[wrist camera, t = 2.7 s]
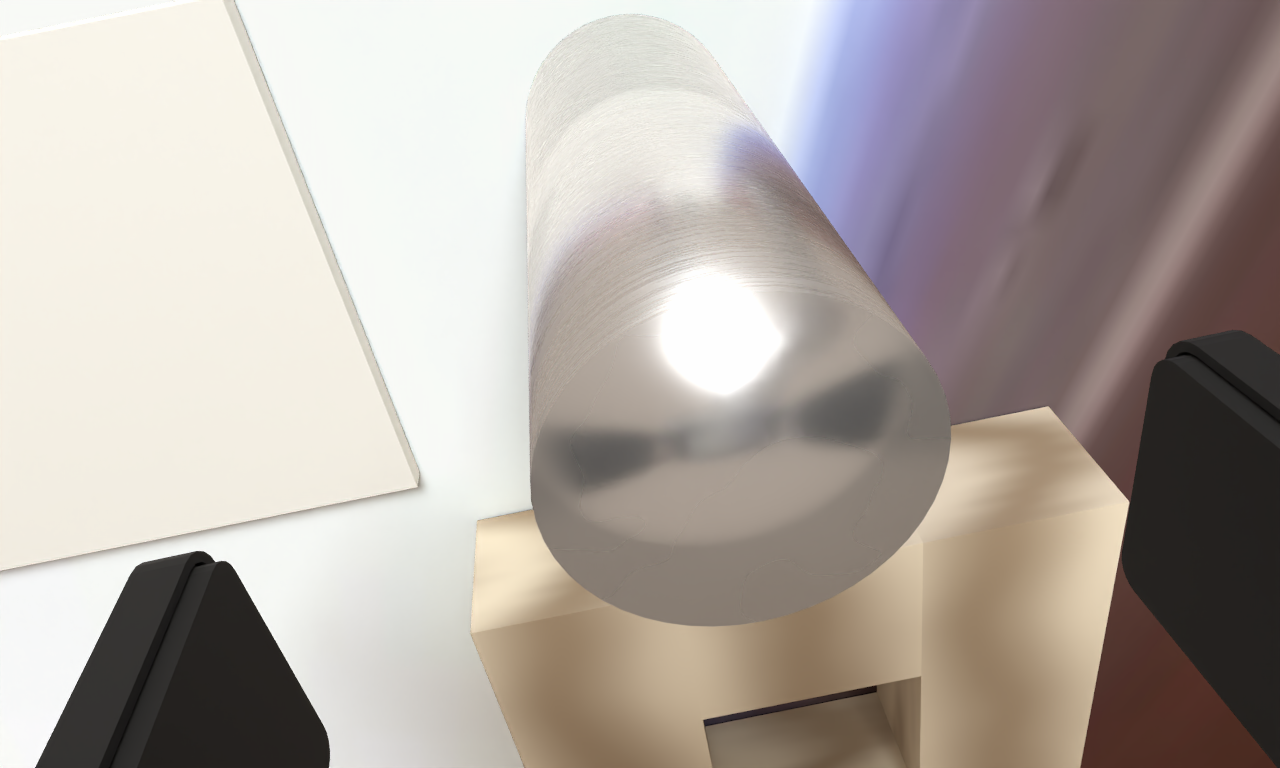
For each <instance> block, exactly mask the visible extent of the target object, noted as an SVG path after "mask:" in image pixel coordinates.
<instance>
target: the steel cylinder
mask: <svg viewBox="0 0 1280 768" xmlns="http://www.w3.org/2000/svg"><path fill="white" fill-rule="evenodd" d="M525 122H526V197H527V271H528V345H529V419H530V483H531V502H532V506H533V511H534V515H535V520H536V523H537V525H538V528H539V530H540V533H541V535H542V538H543V540H544V542H545V544H546V545H547V547H548V549H549V550H550V552H551V553H552V555H553V557H554V558H555V560H556V561H557V562H558V563H559V564H560V565H561V567H562V568H563V569H564V570H565V571H566V572H567V574H568V575H569V576H570V577H572V578H573V579H574V580H575V581H576V582H577V583H579V584H580V585H581V586H582V587H583V588H584V589H586V590H587V591H589V592H590V593H592V594H593V595H595V596H596V597H598V598H600V599H601V600H603V601H605V602H607V603H609V604H611V605H613V606H615V607H617V608H619V609H621V610H623V611H626V612H629V613H632V614H635V615H638V616H640V617H643V618H647V619H651V620H656V621H660V622H664V623H671V624H678V625H686V626H709V627H716V626H732V625H742V624H749V623H755V622H762V621H766V620H770V619H774V618H778V617H782V616H786V615H789V614H792V613H795V612H798V611H801V610H804V609H807V608H810V607H812V606H814V605H816V604H819V603H821V602H823V601H825V600H828V599H830V598H832V597H834V596H836V595H837V594H839V593H841V592H843V591H845V590H846V589H848V588H850V587H852V586H854V585H855V584H857V583H858V582H859V581H861V580H862V579H864V578H865V577H867V576H868V575H870V574H871V573H873V572H874V571H875V570H876V569H877V568H879V567H880V566H881V565H882V564H883V563H885V562H886V561H887V560H888V559H889V558H891V557H892V556H893V555H894V554H895V553H896V552H897V551H898V550H899V548H900V547H901V546H902V545H903V544H904V543H905V542H906V541H907V540H908V539H909V538H910V536H911V535H912V534H913V533H914V531H915V530H916V529H917V527H918V526H919V525H920V524H921V522H922V521H923V519H924V518H925V516H926V514H927V513H928V511H929V509H930V508H931V506H932V504H933V502H934V501H935V498H936V496H937V494H938V491H939V489H940V487H941V484H942V482H943V479H944V475H945V472H946V468H947V464H948V461H949V453H950V444H951V424H950V414H949V409H948V405H947V400H946V396H945V393H944V391H943V388H942V386H941V384H940V381H939V379H938V377H937V374H936V373H935V371H934V370H933V368H932V367H931V365H930V364H929V362H928V360H927V359H926V357H925V356H924V354H923V353H922V352H921V350H920V349H919V347H918V346H917V345H916V343H915V342H914V340H913V339H912V337H911V336H910V335H909V333H908V332H907V330H906V329H905V328H904V326H903V325H902V323H901V322H900V320H899V319H898V318H897V316H896V315H895V313H894V312H893V311H892V309H891V308H890V306H889V305H888V304H887V302H886V301H885V299H884V298H883V296H882V295H881V294H880V292H879V291H878V289H877V288H876V287H875V285H874V284H873V282H872V281H871V279H870V278H869V277H868V275H867V274H866V272H865V271H864V270H863V268H862V267H861V265H860V264H859V262H858V261H857V260H856V258H855V257H854V255H853V254H852V253H851V251H850V250H849V248H848V247H847V246H846V244H845V243H844V241H843V240H842V238H841V237H840V236H839V234H838V233H837V231H836V230H835V229H834V227H833V226H832V224H831V223H830V221H829V220H828V219H827V217H826V216H825V214H824V213H823V212H822V210H821V209H820V207H819V206H818V204H817V203H816V202H815V200H814V199H813V197H812V196H811V195H810V193H809V192H808V190H807V189H806V188H805V186H804V185H803V183H802V182H801V180H800V179H799V178H798V176H797V175H796V173H795V172H794V171H793V169H792V168H791V166H790V165H789V163H788V162H787V161H786V159H785V158H784V156H783V155H782V154H781V152H780V151H779V149H778V148H777V147H776V145H775V144H774V142H773V141H772V139H771V138H770V137H769V135H768V134H767V132H766V131H765V130H764V128H763V127H762V125H761V124H760V122H759V121H758V120H757V118H756V117H755V115H754V114H753V113H752V111H751V110H750V108H749V107H748V105H747V104H746V103H745V101H744V100H743V98H742V97H741V96H740V94H739V93H738V91H737V90H736V89H735V87H734V86H733V84H732V83H731V81H730V80H729V79H728V77H727V76H726V74H725V73H724V72H723V70H722V69H721V67H720V66H719V64H718V63H717V62H716V60H715V59H714V57H713V56H712V55H711V53H710V52H709V51H708V50H707V49H706V47H705V46H704V45H703V44H702V43H701V42H700V41H699V40H698V39H696V38H695V37H694V36H693V35H692V34H690V33H689V32H687V31H686V30H684V29H683V28H681V27H680V26H677V25H675V24H673V23H671V22H669V21H667V20H663V19H660V18H656V17H653V16H647V15H640V14H623V15H615V16H609V17H605V18H602V19H598V20H595V21H593V22H590V23H588V24H586V25H583V26H582V27H580V28H578V29H577V30H575V31H573V32H572V33H570V34H569V35H568V36H567V37H565V38H564V39H563V40H562V41H560V42H559V43H558V44H557V45H556V46H555V47H554V49H553V50H552V51H551V52H550V53H549V54H548V56H547V57H546V58H545V60H544V61H543V63H542V64H541V66H540V68H539V69H538V71H537V73H536V75H535V77H534V80H533V82H532V85H531V88H530V91H529V95H528V100H527V105H526V116H525Z"/></svg>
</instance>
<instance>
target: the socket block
mask: <svg viewBox="0 0 1280 768" xmlns="http://www.w3.org/2000/svg"><path fill="white" fill-rule="evenodd" d="M1128 506H1129V501H1128V500H1127V499H1126V497H1125V496H1124V495H1123V494H1122V493H1121V492H1120V490H1119V489H1118V488H1117V487H1116V486H1115V484H1114V483H1113V482H1112V481H1111V480H1110V479H1109V477H1108V476H1107V475H1106V474H1105V473H1104V472H1103V470H1102V469H1101V468H1100V467H1099V466H1098V464H1097V463H1096V462H1095V461H1094V460H1093V459H1092V457H1091V456H1090V455H1089V454H1088V453H1087V451H1086V450H1085V449H1084V448H1083V447H1082V446H1081V444H1080V443H1079V442H1078V441H1077V440H1076V439H1075V437H1074V436H1073V435H1072V434H1071V433H1070V431H1069V430H1068V429H1067V428H1066V427H1065V426H1064V424H1063V423H1062V422H1061V421H1060V420H1059V418H1058V417H1057V416H1056V415H1055V414H1054V413H1053V411H1052V410H1051V409H1050V408H1049V407H1043V408H1038V409H1033V410H1028V411H1023V412H1018V413H1013V414H1008V415H1003V416H998V417H993V418H988V419H983V420H978V421H973V422H968V423H963V424H958V425H953V426H951V444H950V453H949V461H948V464H947V468H946V472H945V475H944V479H943V482H942V484H941V487H940V489H939V491H938V494H937V496H936V498H935V501H934V502H933V504H932V506H931V508H930V509H929V511H928V513H927V514H926V516H925V518H924V519H923V521H922V522H921V524H920V525H919V526H918V527H917V529H916V530H915V531H914V533H913V534H912V535H911V536H910V538H909V539H908V540H907V541H906V542H905V543H904V544H903V545H902V546H901V547H900V548H899V550H898V551H897V552H896V553H895V554H894V555H893V556H892V557H891V558H889V559H888V560H887V561H886V562H885V563H883V564H882V565H881V566H880V567H879V568H877V569H876V570H875V571H874V572H873V573H871V574H870V575H868V576H867V577H865V578H864V579H862V580H861V581H859V582H858V583H857V584H855V585H854V586H852V587H850V588H848V589H846V590H845V591H843V592H841V593H839V594H837V595H836V596H834V597H832V598H830V599H828V600H825V601H823V602H821V603H819V604H816V605H814V606H812V607H810V608H807V609H804V610H801V611H798V612H795V613H792V614H789V615H786V616H782V617H778V618H774V619H770V620H766V621H762V622H755V623H749V624H742V625H732V626H716V627H709V626H686V625H678V624H671V623H664V622H660V621H656V620H651V619H647V618H643V617H640V616H638V615H635V614H632V613H629V612H626V611H623V610H621V609H619V608H617V607H615V606H613V605H611V604H609V603H607V602H605V601H603V600H601V599H600V598H598V597H596V596H595V595H593V594H592V593H590V592H589V591H587V590H586V589H584V588H583V587H582V586H581V585H580V584H579V583H577V582H576V581H575V580H574V579H573V578H572V577H570V576H569V575H568V574H567V572H566V571H565V570H564V569H563V568H562V567H561V565H560V564H559V563H558V562H557V561H556V560H555V558H554V557H553V555H552V553H551V552H550V550H549V549H548V547H547V545H546V544H545V542H544V540H543V538H542V535H541V533H540V530H539V528H538V525H537V523H536V520H535V515H534V511H533V510H528V511H523V512H518V513H513V514H508V515H503V516H498V517H493V518H488V519H483V520H478V521H477V530H476V547H475V564H474V581H473V598H472V615H471V631H470V634H471V636H472V639H473V641H474V644H475V646H476V649H477V651H478V654H479V656H480V659H481V661H482V664H483V666H484V668H485V671H486V673H487V676H488V678H489V681H490V683H491V686H492V688H493V691H494V693H495V696H496V698H497V701H498V703H499V705H500V708H501V710H502V713H503V715H504V718H505V720H506V723H507V725H508V728H509V730H510V733H511V735H512V738H513V740H514V742H515V745H516V747H517V750H518V752H519V755H520V757H521V760H522V762H523V765H524V767H525V768H1080V765H1081V760H1082V755H1083V749H1084V744H1085V738H1086V733H1087V727H1088V722H1089V717H1090V711H1091V706H1092V700H1093V695H1094V690H1095V684H1096V679H1097V673H1098V668H1099V663H1100V657H1101V652H1102V646H1103V641H1104V635H1105V630H1106V625H1107V619H1108V614H1109V608H1110V603H1111V598H1112V592H1113V587H1114V581H1115V576H1116V571H1117V565H1118V560H1119V554H1120V549H1121V543H1122V538H1123V533H1124V527H1125V522H1126V516H1127V511H1128ZM875 685H877V692H875V693H870V694H865V695H860V696H855V697H850V698H845V699H840V700H835V701H830V702H825V703H820V704H815V705H810V706H805V707H800V708H795V709H790V710H785V711H780V712H775V713H770V714H765V715H760V716H755V717H750V718H745V719H740V720H735V721H730V722H725V723H720V724H715V725H710V726H705V724H704V719H709V718H714V717H719V716H724V715H729V714H734V713H739V712H744V711H749V710H754V709H759V708H764V707H769V706H774V705H779V704H784V703H789V702H794V701H799V700H804V699H809V698H814V697H819V696H824V695H830V694H835V693H840V692H845V691H850V690H855V689H860V688H865V687H870V686H875Z"/></svg>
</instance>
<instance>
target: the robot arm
mask: <svg viewBox="0 0 1280 768" xmlns="http://www.w3.org/2000/svg"><path fill="white" fill-rule="evenodd" d="M1122 564H1123V569H1124V572H1125V575H1126V578H1127V580H1128V582H1129V584H1130V586H1131V587H1132V589H1133V590H1134V592H1135V593H1136V594H1137V595H1138V596H1139V598H1140V599H1141V600H1142V601H1143V603H1144V604H1145V605H1146V606H1147V608H1148V609H1149V610H1150V611H1151V612H1152V614H1153V615H1154V616H1155V617H1156V619H1157V620H1158V621H1159V622H1160V624H1161V625H1162V626H1163V627H1164V628H1165V630H1166V631H1167V632H1168V633H1169V635H1170V636H1171V637H1172V638H1173V640H1174V641H1175V642H1176V643H1177V644H1178V646H1179V647H1180V648H1181V649H1182V651H1183V652H1184V653H1185V654H1186V656H1187V657H1188V658H1189V659H1190V660H1191V662H1192V663H1193V664H1194V665H1195V667H1196V668H1197V669H1198V670H1199V672H1200V673H1201V674H1202V675H1203V676H1204V678H1205V679H1206V680H1207V681H1208V683H1209V684H1210V685H1211V686H1212V688H1213V689H1214V690H1215V691H1216V692H1217V694H1218V695H1219V696H1220V697H1221V699H1222V700H1223V701H1224V702H1225V704H1226V705H1227V706H1228V707H1229V708H1230V710H1231V711H1232V712H1233V713H1234V715H1235V716H1236V717H1237V718H1238V720H1239V721H1240V722H1241V723H1242V725H1243V726H1244V727H1245V728H1246V729H1247V731H1248V732H1249V733H1250V734H1251V736H1252V737H1253V738H1254V739H1255V741H1256V742H1257V743H1258V744H1259V745H1260V747H1261V748H1262V749H1263V750H1264V752H1265V753H1266V754H1267V755H1268V757H1269V758H1270V759H1271V760H1272V761H1273V763H1274V764H1275V765H1276V766H1277V768H1280V355H1279V354H1277V353H1276V352H1274V351H1273V350H1272V349H1270V348H1269V347H1267V346H1266V345H1264V344H1263V343H1262V342H1260V341H1259V340H1257V339H1256V338H1254V337H1253V336H1251V335H1250V334H1247V333H1245V332H1243V331H1238V330H1231V331H1226V332H1221V333H1217V334H1212V335H1207V336H1203V337H1198V338H1193V339H1189V340H1184V341H1180V342H1178V343H1176V344H1173V345H1172V347H1171V348H1170V349H1169V350H1168V352H1167V355H1166V358H1165V360H1162V361H1159V362H1158V363H1157V364H1156V365H1155V367H1154V369H1153V372H1152V376H1151V382H1150V388H1149V394H1148V400H1147V406H1146V412H1145V418H1144V424H1143V430H1142V436H1141V442H1140V448H1139V454H1138V460H1137V466H1136V472H1135V478H1134V484H1133V490H1132V496H1131V502H1130V508H1129V514H1128V520H1127V526H1126V532H1125V538H1124V544H1123V550H1122ZM329 762H330V748H329V740H328V736H327V732H326V730H325V728H324V726H323V724H322V722H321V720H320V719H319V717H318V715H317V713H316V712H315V710H314V708H313V706H312V705H311V703H310V701H309V699H308V698H307V696H306V694H305V692H304V691H303V689H302V687H301V685H300V684H299V682H298V680H297V678H296V677H295V675H294V673H293V671H292V669H291V668H290V666H289V664H288V662H287V661H286V659H285V657H284V655H283V654H282V652H281V650H280V648H279V647H278V645H277V643H276V641H275V640H274V638H273V636H272V634H271V633H270V631H269V629H268V627H267V626H266V624H265V622H264V620H263V619H262V617H261V615H260V613H259V612H258V610H257V608H256V606H255V605H254V603H253V601H252V599H251V598H250V596H249V594H248V592H247V591H246V589H245V587H244V585H243V584H242V582H241V580H240V578H239V576H238V575H237V573H236V571H235V570H234V568H233V567H232V566H231V564H229V563H228V562H226V561H219V562H215V561H214V560H213V559H212V557H211V556H210V555H208V554H207V553H205V552H203V551H195V552H191V553H186V554H181V555H176V556H172V557H167V558H162V559H158V560H153V561H148V562H144V563H142V564H140V565H138V566H136V567H135V569H134V570H133V572H132V573H131V574H130V576H129V578H128V580H127V582H126V584H125V587H124V589H123V591H122V593H121V595H120V597H119V599H118V601H117V603H116V605H115V607H114V609H113V611H112V613H111V615H110V617H109V619H108V621H107V623H106V625H105V627H104V629H103V631H102V633H101V635H100V637H99V639H98V641H97V643H96V645H95V647H94V649H93V652H92V654H91V656H90V658H89V660H88V662H87V664H86V666H85V668H84V670H83V672H82V674H81V676H80V678H79V680H78V682H77V684H76V686H75V688H74V690H73V692H72V694H71V696H70V698H69V700H68V702H67V704H66V706H65V708H64V710H63V712H62V714H61V717H60V719H59V721H58V723H57V725H56V727H55V729H54V731H53V733H52V735H51V737H50V739H49V741H48V743H47V745H46V747H45V749H44V751H43V753H42V755H41V757H40V759H39V761H38V763H37V765H36V767H35V768H329Z"/></svg>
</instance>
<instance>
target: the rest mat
mask: <svg viewBox="0 0 1280 768" xmlns="http://www.w3.org/2000/svg"><path fill="white" fill-rule="evenodd" d="M419 474H420V472H419V470H418V467H417V465H416V462H415V459H414V457H413V454H412V452H411V449H410V447H409V444H408V442H407V439H406V437H405V434H404V432H403V429H402V426H401V424H400V421H399V419H398V416H397V414H396V411H395V409H394V406H393V404H392V401H391V398H390V396H389V393H388V391H387V388H386V386H385V383H384V381H383V378H382V376H381V373H380V371H379V368H378V365H377V363H376V360H375V358H374V355H373V353H372V350H371V348H370V345H369V343H368V340H367V337H366V335H365V332H364V330H363V327H362V325H361V322H360V320H359V317H358V315H357V312H356V310H355V307H354V304H353V302H352V299H351V297H350V294H349V292H348V289H347V287H346V284H345V282H344V279H343V277H342V274H341V271H340V269H339V266H338V264H337V261H336V259H335V256H334V254H333V251H332V249H331V246H330V243H329V241H328V238H327V236H326V233H325V231H324V228H323V226H322V223H321V221H320V218H319V216H318V213H317V210H316V208H315V205H314V203H313V200H312V198H311V195H310V193H309V190H308V188H307V185H306V182H305V180H304V177H303V175H302V172H301V170H300V167H299V165H298V162H297V160H296V157H295V155H294V152H293V149H292V147H291V144H290V142H289V139H288V137H287V134H286V132H285V129H284V127H283V124H282V121H281V119H280V116H279V114H278V111H277V109H276V106H275V104H274V101H273V99H272V96H271V94H270V91H269V88H268V86H267V83H266V81H265V78H264V76H263V73H262V71H261V68H260V66H259V63H258V60H257V58H256V55H255V53H254V50H253V48H252V45H251V43H250V40H249V38H248V35H247V33H246V30H245V27H244V25H243V22H242V20H241V17H240V15H239V12H238V10H237V7H236V5H235V2H234V0H178V1H173V2H168V3H163V4H158V5H153V6H148V7H143V8H138V9H133V10H128V11H123V12H118V13H113V14H108V15H103V16H98V17H93V18H88V19H83V20H78V21H73V22H69V23H64V24H59V25H54V26H49V27H44V28H39V29H34V30H29V31H24V32H19V33H14V34H9V35H4V36H0V571H2V570H7V569H12V568H17V567H22V566H27V565H32V564H37V563H42V562H47V561H52V560H57V559H62V558H67V557H72V556H77V555H82V554H87V553H92V552H97V551H102V550H107V549H112V548H117V547H122V546H127V545H132V544H137V543H142V542H147V541H152V540H157V539H162V538H167V537H172V536H177V535H182V534H187V533H192V532H197V531H202V530H207V529H212V528H217V527H222V526H227V525H232V524H237V523H242V522H247V521H251V520H256V519H261V518H266V517H271V516H276V515H281V514H286V513H291V512H296V511H301V510H306V509H311V508H316V507H321V506H326V505H331V504H336V503H341V502H346V501H351V500H356V499H361V498H366V497H371V496H376V495H381V494H386V493H391V492H396V491H401V490H406V489H411V488H416V487H418V480H419Z"/></svg>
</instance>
